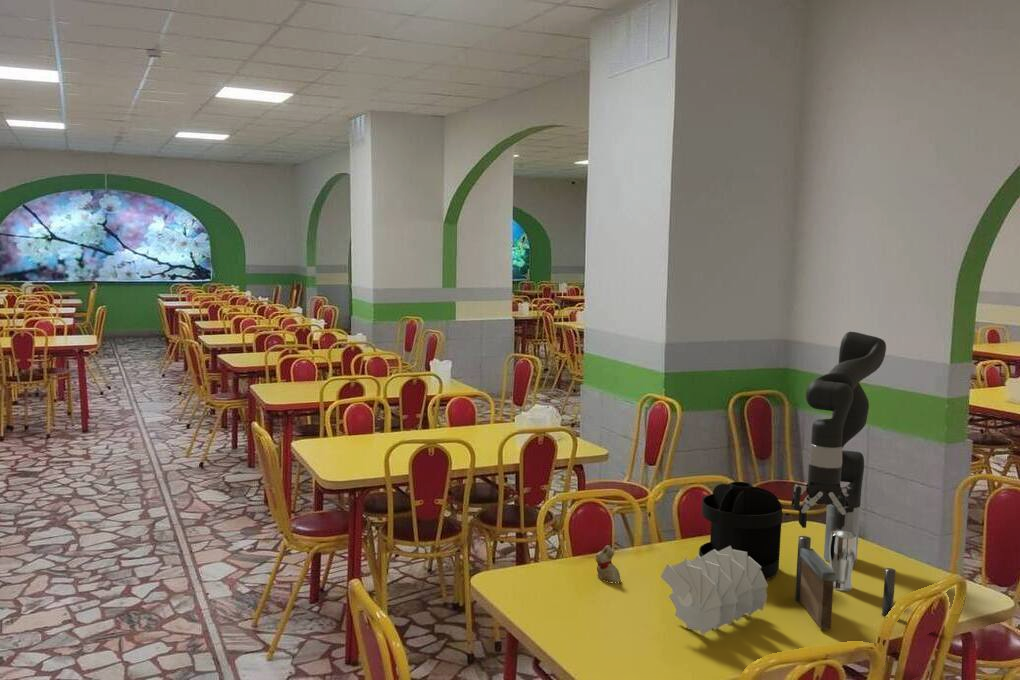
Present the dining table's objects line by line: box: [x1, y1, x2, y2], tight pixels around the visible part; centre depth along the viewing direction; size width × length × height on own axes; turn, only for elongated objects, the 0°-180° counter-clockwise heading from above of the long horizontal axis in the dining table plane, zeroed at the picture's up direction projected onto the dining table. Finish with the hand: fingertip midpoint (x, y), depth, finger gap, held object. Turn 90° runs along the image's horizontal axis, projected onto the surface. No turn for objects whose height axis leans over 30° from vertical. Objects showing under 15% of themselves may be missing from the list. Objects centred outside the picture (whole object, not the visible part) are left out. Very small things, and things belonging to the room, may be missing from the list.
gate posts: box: [794, 535, 897, 618], centre depth 219 cm, size 3×24×17 cm, turn 66°
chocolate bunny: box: [595, 544, 622, 584], centre depth 235 cm, size 6×8×10 cm
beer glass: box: [829, 530, 856, 592], centre depth 234 cm, size 7×7×15 cm
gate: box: [799, 548, 836, 630], centre depth 213 cm, size 3×17×14 cm, turn 178°
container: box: [698, 481, 783, 581], centre depth 245 cm, size 22×23×25 cm
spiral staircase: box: [660, 546, 769, 636], centre depth 208 cm, size 18×18×25 cm
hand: (821, 527), depth 209 cm, fingers open, 8 cm apart
